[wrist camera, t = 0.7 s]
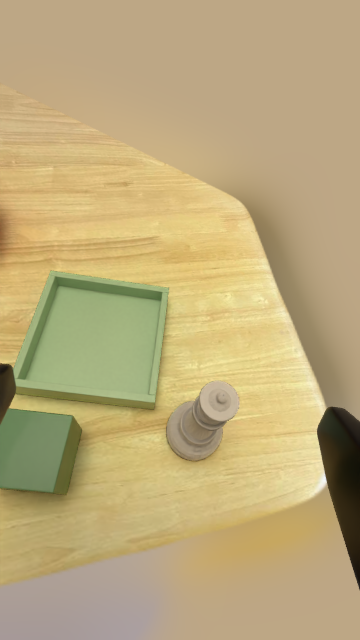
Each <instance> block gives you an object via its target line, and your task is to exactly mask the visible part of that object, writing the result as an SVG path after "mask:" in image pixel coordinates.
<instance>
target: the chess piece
mask: <svg viewBox="0 0 360 640" xmlns="http://www.w3.org/2000/svg"><path fill="white" fill-rule="evenodd" d="M238 409H239V397H238V394H237V392H236V391H235V389H234V388H233V387H232V386H231V385H229V384H228V383H226V382H223V381H212V382H210V383H208V384H206V385H205V386H204V387H203V388H202V390H201V392H200V395H199V396H198V397H197V398H196V399H195V401H189V402H185V403H183V404H181V405H180V406H178V407H177V408H176V409H175V410H174V412H173V413H172V414H171V416H170V418H169V420H168V423H167V427H166V435H167V439H168V443H169V445H170V446H171V448H172V450H173V451H174V452H175V453H176V454H177V455H179V456H180V457H182V458H183V459H187V460H190V461H198V460H201V459H205V458H206V457H208V456H209V455H211V454H212V453H213V452H214V451H215V450H216V449H217V447H218V446H219V444H220V442H221V440H222V434H223V428H222V427H223V426H224V425H225V423H226V422H227V421H229V420H230V419H232V418H233V417H234V416H235V415H236V413H237V411H238Z"/></svg>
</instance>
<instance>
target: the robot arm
mask: <svg viewBox="0 0 360 640" xmlns="http://www.w3.org/2000/svg"><path fill="white" fill-rule="evenodd" d="M15 393H16V383H15V377H14V372H13V367H12V366H11V365H9V364H2V363H0V425H1V423H2V420H3V418H4V416H5V414H6V412H7V410H8V408H9V406H10V404H11V402H12V400H13V398H14V395H15ZM317 435H318V440H319V445H320V450H321V455H322V460H323V465H324V470H325V475H326V480H327V484H328V488H329V492H330V496H331V499H332V502H333V505H334V508H335V512H336V515H337V518H338V521H339V524H340V528H341V531H342V534H343V537H344V541H345V544H346V547H347V551H348V554H349V557H350V560H351V563H352V567H353V570H354V573H355V577H356V579H357V583H358V586H359V589H360V421H359V420H357V419H356V418H355V417H354V416H353V415H351V414H350V413H349V412H348V411H346V410H345V409H343V408H338V407H328V408H327V409H326V411H325V413H324V415H323V417H322V419H321V421H320V423H319V425H318V429H317Z"/></svg>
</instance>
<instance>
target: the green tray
mask: <svg viewBox="0 0 360 640" xmlns="http://www.w3.org/2000/svg"><path fill="white" fill-rule="evenodd" d="M168 293H169V288H166V287H160V286H153V285H146V284H139V283H132V282H125V281H119V280H112V279H105V278H98V277H91V276H85V275H78V274H71V273H64V272H57V271H50V274H49V277H48V279H47V282H46V285H45V287H44V290H43V292H42V295H41V298H40V300H39V303H38V306H37V308H36V311H35V313H34V316H33V319H32V321H31V324H30V326H29V329H28V332H27V334H26V337H25V339H24V342H23V345H22V347H21V350H20V352H19V355H18V358H17V360H16V363H15V366H14V368H13V372H14V377H15V383H16V394H23V395H32V396H40V397H49V398H57V399H66V400H74V401H83V402H92V403H100V404H109V405H117V406H126V407H134V408H143V409H151V410H153V409H154V405H155V400H156V392H157V383H158V375H159V367H160V359H161V351H162V343H163V334H164V326H165V318H166V310H167V302H168Z"/></svg>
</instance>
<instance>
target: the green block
mask: <svg viewBox="0 0 360 640" xmlns="http://www.w3.org/2000/svg"><path fill="white" fill-rule="evenodd" d="M81 432H82V429H81V428H80V426H79V424H78V423H77V421H76V420H75V418H74V417H73V416H71V415H63V414H54V413H45V412H36V411H27V410H18V409H10V408H8V410H7V412H6V414H5V416H4V418H3V420H2V423H1V425H0V489H8V490H19V491H29V492H40V493H51V494H61V495H67V492H68V487H69V483H70V479H71V475H72V470H73V466H74V462H75V458H76V453H77V449H78V445H79V441H80V436H81Z"/></svg>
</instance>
